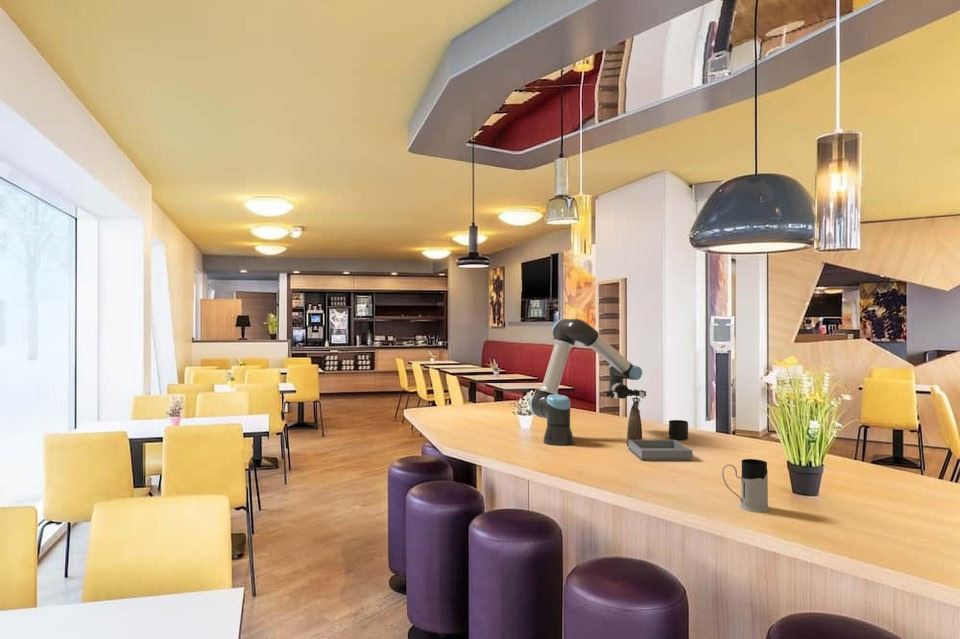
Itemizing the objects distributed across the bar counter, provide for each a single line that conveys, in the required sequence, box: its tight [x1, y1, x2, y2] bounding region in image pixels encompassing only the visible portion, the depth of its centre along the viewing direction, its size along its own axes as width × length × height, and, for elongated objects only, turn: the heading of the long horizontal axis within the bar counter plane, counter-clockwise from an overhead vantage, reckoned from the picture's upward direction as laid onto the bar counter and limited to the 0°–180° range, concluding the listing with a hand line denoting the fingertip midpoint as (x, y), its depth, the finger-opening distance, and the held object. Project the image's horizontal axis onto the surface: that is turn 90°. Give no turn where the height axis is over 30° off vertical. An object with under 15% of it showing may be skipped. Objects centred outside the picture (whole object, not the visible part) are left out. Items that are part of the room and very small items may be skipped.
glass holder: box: [721, 458, 770, 513], centre depth 196 cm, size 9×14×15 cm, turn 80°
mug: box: [668, 419, 689, 442], centre depth 312 cm, size 9×12×9 cm
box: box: [628, 439, 693, 462], centre depth 275 cm, size 22×24×4 cm
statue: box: [626, 395, 643, 447], centre depth 295 cm, size 9×8×25 cm
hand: (630, 395), depth 305 cm, fingers open, 13 cm apart
